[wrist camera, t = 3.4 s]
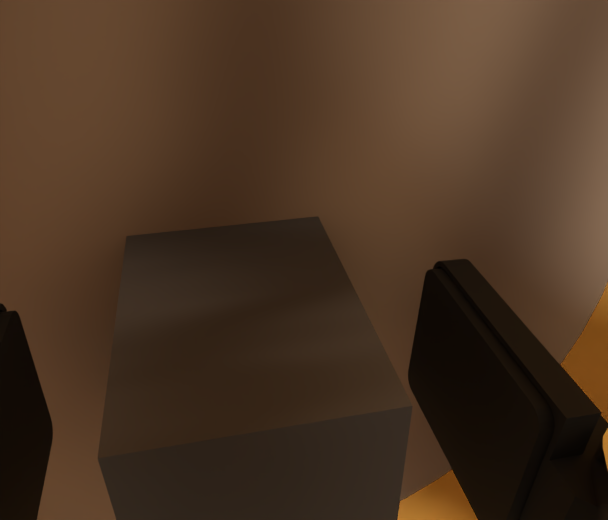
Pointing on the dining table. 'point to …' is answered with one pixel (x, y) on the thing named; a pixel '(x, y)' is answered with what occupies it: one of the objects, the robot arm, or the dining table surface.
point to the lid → (282, 232)
